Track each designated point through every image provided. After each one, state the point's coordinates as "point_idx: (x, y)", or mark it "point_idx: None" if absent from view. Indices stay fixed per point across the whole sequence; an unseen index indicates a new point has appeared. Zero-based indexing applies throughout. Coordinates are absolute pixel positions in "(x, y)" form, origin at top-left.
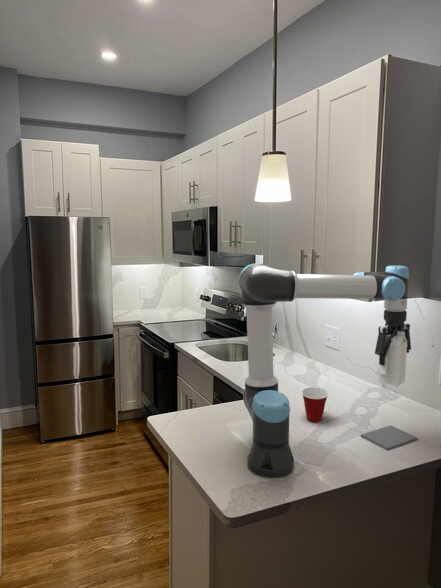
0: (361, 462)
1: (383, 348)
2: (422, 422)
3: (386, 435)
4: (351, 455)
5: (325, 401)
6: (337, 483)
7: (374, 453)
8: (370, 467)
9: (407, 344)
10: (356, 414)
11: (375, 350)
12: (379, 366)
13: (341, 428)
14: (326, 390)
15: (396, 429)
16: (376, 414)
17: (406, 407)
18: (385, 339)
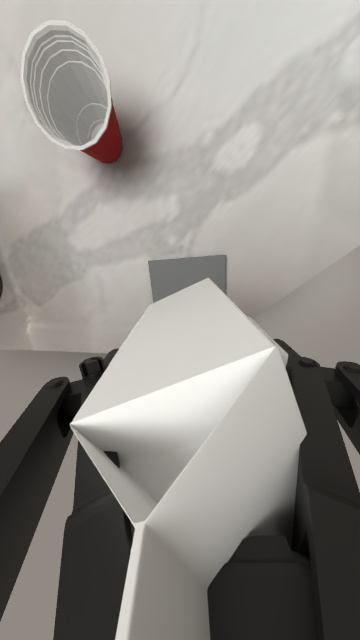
0: (99, 323)
1: (63, 451)
2: (294, 265)
3: (186, 283)
4: (97, 303)
5: (102, 143)
6: (44, 346)
7: (132, 313)
8: (103, 337)
9: (348, 426)
10: (213, 165)
11: (37, 396)
12: (136, 325)
13: (137, 214)
14: (110, 96)
15: (220, 273)
16: (252, 188)
17: (345, 187)
18: (24, 553)
